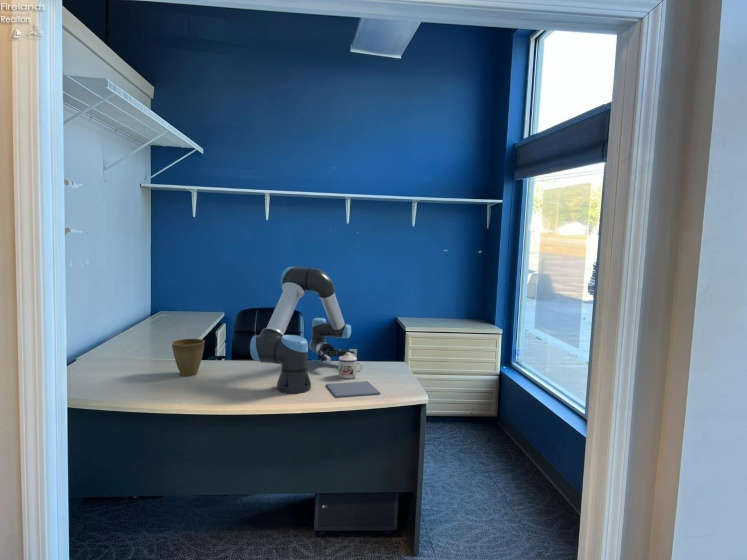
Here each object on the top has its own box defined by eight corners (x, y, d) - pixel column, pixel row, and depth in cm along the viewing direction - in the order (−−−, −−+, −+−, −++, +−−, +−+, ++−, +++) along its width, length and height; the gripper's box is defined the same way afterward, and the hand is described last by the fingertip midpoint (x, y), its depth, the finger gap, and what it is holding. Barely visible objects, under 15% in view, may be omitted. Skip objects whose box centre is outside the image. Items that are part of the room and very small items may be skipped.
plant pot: (205, 369, 263) (205, 337, 261) (203, 377, 248) (203, 344, 247) (173, 370, 259) (173, 338, 258) (169, 379, 245) (169, 345, 243)
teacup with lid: (336, 378, 254) (336, 354, 253) (339, 373, 263) (340, 350, 262) (360, 379, 253) (361, 356, 252) (363, 374, 262) (364, 351, 261)
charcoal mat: (336, 397, 225) (336, 395, 225) (326, 385, 242) (326, 383, 242) (380, 394, 231) (380, 392, 231) (367, 382, 248) (367, 381, 248)
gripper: (346, 354, 290) (364, 364, 272) (303, 359, 278) (319, 368, 260) (346, 341, 290) (364, 349, 271) (303, 345, 278) (319, 354, 259)
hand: (342, 359), depth 266 cm, fingers open, 13 cm apart
